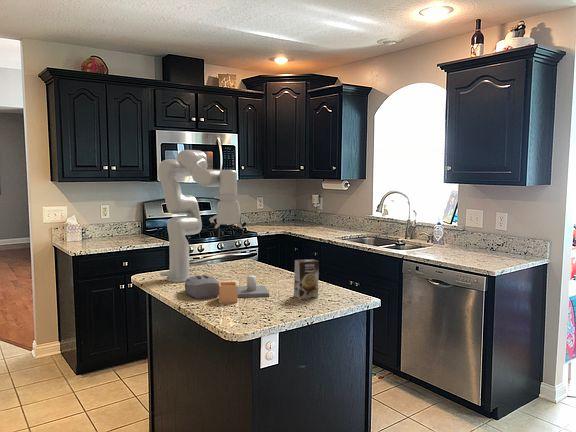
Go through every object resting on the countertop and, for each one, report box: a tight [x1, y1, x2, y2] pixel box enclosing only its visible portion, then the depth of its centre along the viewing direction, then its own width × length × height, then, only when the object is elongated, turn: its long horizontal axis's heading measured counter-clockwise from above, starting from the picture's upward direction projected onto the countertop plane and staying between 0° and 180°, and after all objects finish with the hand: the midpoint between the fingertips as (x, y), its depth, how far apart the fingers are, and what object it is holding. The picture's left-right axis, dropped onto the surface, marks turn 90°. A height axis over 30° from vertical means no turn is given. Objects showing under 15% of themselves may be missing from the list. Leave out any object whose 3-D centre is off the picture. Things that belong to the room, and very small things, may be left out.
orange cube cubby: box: [218, 281, 239, 304], centre depth 200 cm, size 7×7×7 cm
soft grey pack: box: [184, 274, 220, 300], centre depth 211 cm, size 15×8×20 cm
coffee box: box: [293, 258, 320, 300], centre depth 207 cm, size 9×6×16 cm
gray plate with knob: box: [238, 275, 270, 298], centre depth 212 cm, size 14×14×8 cm
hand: (229, 237), depth 208 cm, fingers open, 9 cm apart
